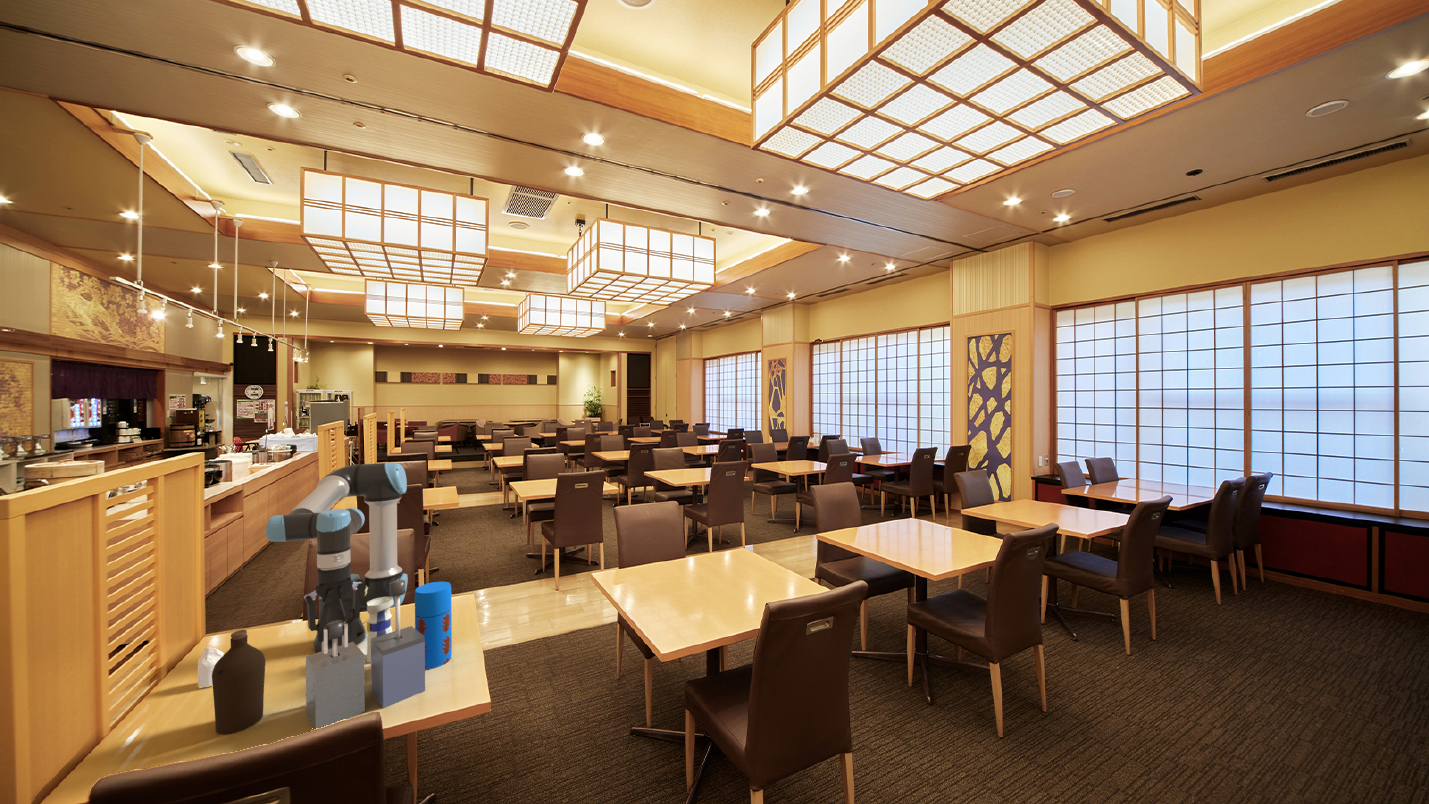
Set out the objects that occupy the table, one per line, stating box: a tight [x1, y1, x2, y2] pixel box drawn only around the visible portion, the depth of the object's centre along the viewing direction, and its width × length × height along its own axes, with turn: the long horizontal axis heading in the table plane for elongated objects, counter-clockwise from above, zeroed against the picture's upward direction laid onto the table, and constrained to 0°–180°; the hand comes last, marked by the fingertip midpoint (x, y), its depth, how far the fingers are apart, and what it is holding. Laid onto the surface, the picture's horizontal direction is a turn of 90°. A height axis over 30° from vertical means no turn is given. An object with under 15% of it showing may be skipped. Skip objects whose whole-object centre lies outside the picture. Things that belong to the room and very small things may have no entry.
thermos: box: [414, 581, 453, 670], centre depth 168 cm, size 11×11×25 cm
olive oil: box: [212, 629, 266, 735], centre depth 136 cm, size 11×11×25 cm
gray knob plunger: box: [389, 580, 406, 640], centre depth 150 cm, size 8×8×20 cm
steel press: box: [305, 642, 366, 730], centre depth 141 cm, size 15×11×16 cm
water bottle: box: [365, 586, 394, 664], centre depth 171 cm, size 8×9×25 cm
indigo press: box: [370, 625, 426, 709], centre depth 151 cm, size 15×11×16 cm
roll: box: [196, 646, 225, 687], centre depth 155 cm, size 6×12×6 cm
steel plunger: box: [326, 620, 344, 658], centre depth 140 cm, size 8×8×20 cm
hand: (335, 648), depth 140 cm, fingers closed on steel plunger, 4 cm apart
